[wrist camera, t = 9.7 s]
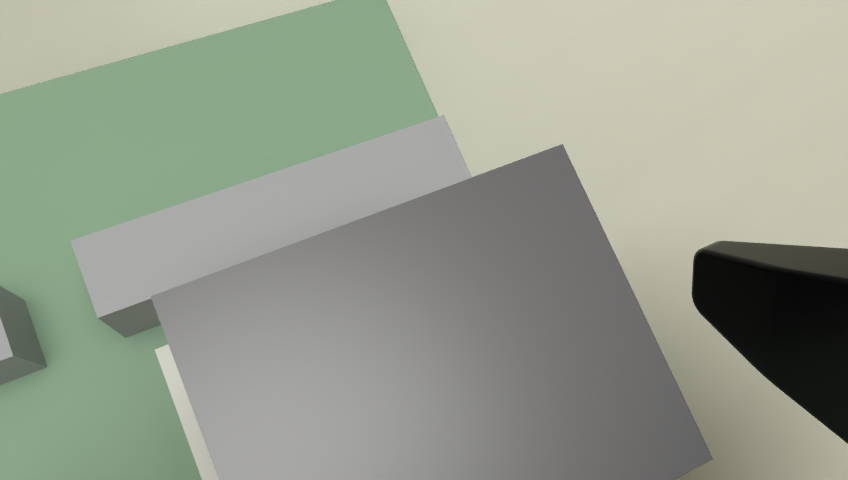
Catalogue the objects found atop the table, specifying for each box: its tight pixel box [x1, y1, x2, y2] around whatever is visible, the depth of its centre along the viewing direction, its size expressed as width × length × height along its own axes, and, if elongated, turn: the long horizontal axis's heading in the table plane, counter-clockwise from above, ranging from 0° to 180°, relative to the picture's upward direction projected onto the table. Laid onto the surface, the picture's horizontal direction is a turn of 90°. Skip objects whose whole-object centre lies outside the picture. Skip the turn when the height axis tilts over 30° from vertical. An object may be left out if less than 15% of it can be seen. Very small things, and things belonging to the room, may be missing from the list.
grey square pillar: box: [151, 144, 713, 480], centre depth 13 cm, size 4×5×10 cm
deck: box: [0, 0, 472, 480], centre depth 17 cm, size 18×14×4 cm
